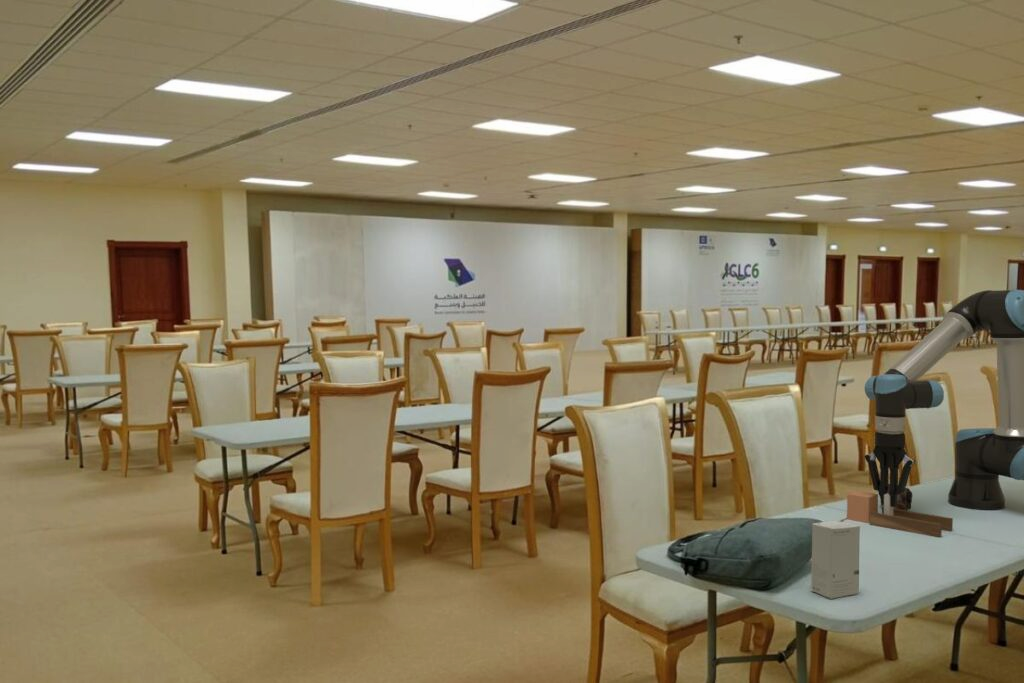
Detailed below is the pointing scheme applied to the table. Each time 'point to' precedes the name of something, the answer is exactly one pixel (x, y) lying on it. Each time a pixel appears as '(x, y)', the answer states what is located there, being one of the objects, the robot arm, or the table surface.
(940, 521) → the chute
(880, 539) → the table surface
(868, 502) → the block
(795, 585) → the table surface
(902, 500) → the rock
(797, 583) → the table surface
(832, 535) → the skincare box
